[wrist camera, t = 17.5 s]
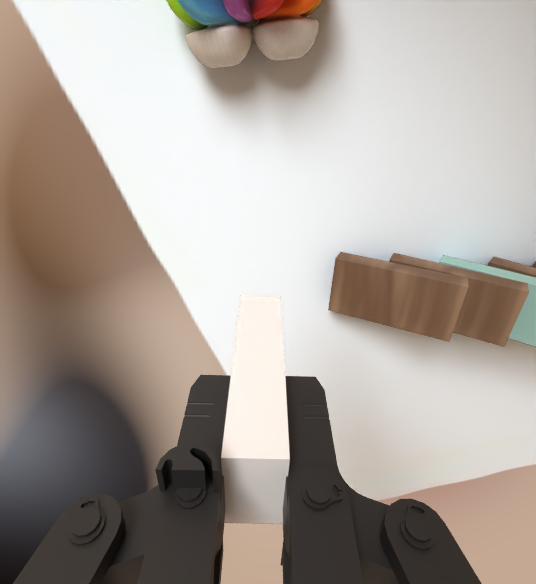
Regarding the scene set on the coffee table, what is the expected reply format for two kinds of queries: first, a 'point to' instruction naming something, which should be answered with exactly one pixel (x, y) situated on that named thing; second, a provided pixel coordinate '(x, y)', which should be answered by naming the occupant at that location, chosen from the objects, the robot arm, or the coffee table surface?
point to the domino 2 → (481, 301)
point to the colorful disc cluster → (247, 28)
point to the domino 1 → (397, 295)
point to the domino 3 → (512, 267)
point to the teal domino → (532, 319)
